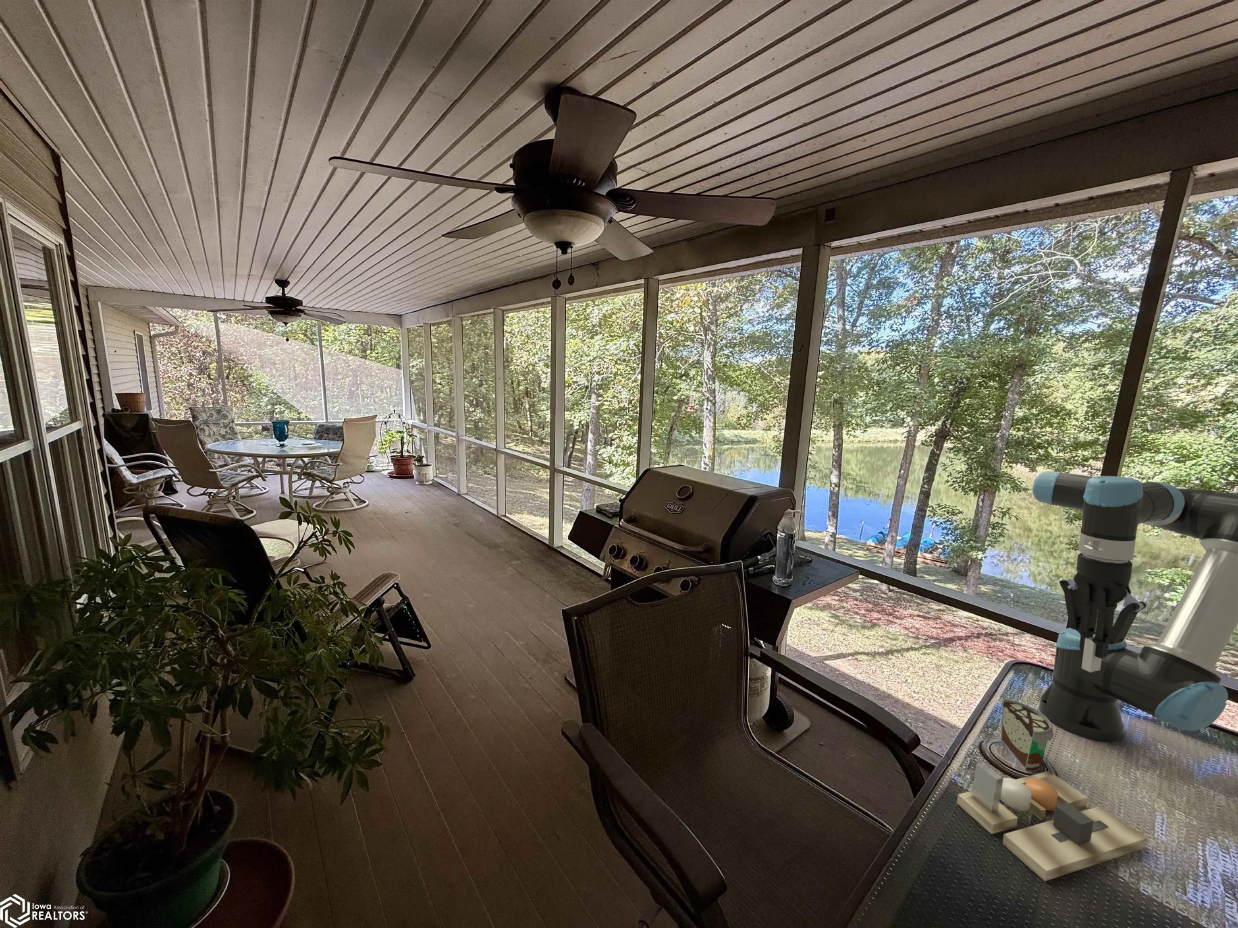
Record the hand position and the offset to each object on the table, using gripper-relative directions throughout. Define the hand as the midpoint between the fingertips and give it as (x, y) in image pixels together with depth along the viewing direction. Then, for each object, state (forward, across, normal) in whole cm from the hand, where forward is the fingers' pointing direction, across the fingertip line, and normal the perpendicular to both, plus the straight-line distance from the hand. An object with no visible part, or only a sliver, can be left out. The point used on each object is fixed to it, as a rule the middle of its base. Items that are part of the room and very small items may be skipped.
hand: (1090, 668), depth 97 cm
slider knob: (+23, +10, -17) cm, 30 cm away
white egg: (+23, +1, -20) cm, 30 cm away
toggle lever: (+23, 0, -26) cm, 34 cm away
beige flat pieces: (+26, +6, -17) cm, 31 cm away
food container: (+26, -8, -2) cm, 28 cm away
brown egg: (+25, +2, -13) cm, 28 cm away
